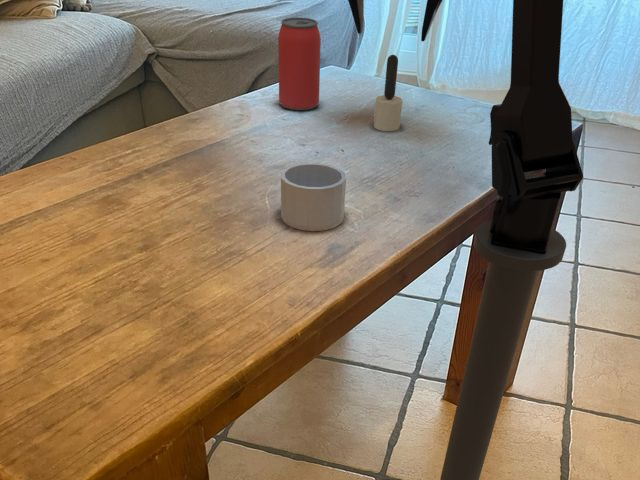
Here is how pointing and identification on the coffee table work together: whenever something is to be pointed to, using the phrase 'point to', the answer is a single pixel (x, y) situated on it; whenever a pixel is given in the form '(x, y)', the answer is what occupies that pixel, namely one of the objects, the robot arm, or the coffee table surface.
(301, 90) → the beer can
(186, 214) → the coffee table surface
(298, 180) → the grey round cup
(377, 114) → the brush
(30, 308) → the coffee table surface
